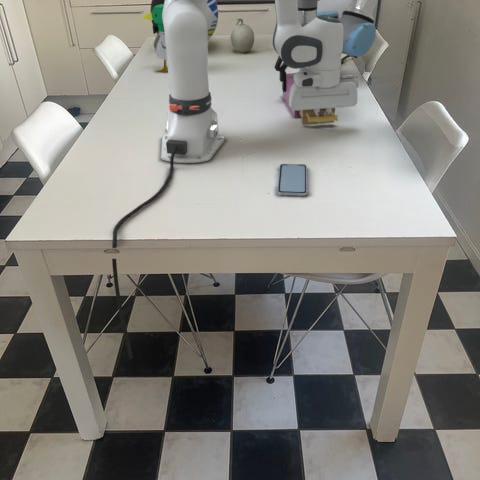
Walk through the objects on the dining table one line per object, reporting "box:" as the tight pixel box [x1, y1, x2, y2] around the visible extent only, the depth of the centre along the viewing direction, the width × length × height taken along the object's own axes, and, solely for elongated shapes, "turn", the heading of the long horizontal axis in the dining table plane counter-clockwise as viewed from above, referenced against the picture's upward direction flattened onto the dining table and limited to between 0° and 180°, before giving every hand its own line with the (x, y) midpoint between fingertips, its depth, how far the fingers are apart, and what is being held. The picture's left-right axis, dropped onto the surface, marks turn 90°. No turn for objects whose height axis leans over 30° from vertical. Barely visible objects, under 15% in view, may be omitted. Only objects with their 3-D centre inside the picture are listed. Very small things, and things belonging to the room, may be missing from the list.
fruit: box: [230, 18, 255, 53], centre depth 228 cm, size 10×12×15 cm
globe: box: [149, 0, 219, 41], centre depth 229 cm, size 30×30×30 cm
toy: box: [141, 4, 168, 73], centre depth 204 cm, size 8×20×24 cm, turn 69°
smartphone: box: [277, 163, 308, 197], centre depth 132 cm, size 7×1×15 cm
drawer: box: [298, 108, 339, 126], centre depth 164 cm, size 24×10×6 cm, turn 7°
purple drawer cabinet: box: [282, 72, 302, 118], centre depth 174 cm, size 20×11×8 cm, turn 7°
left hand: (321, 121), depth 157 cm, fingers closed, pressing on drawer
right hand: (301, 89), depth 179 cm, fingers closed on purple drawer cabinet, 11 cm apart
